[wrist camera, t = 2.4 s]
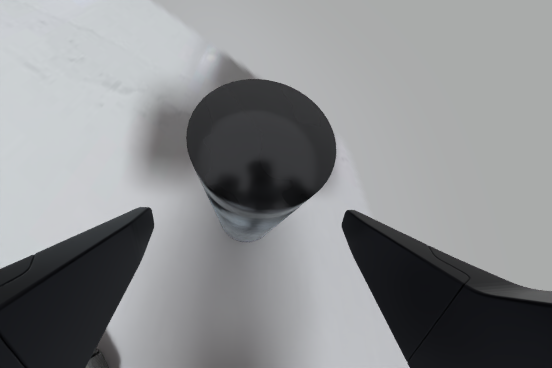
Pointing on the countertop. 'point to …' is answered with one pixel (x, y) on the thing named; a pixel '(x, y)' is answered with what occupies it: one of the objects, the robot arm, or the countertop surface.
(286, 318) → the countertop surface
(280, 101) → the dark grey metallic cylinder
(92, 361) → the ring
